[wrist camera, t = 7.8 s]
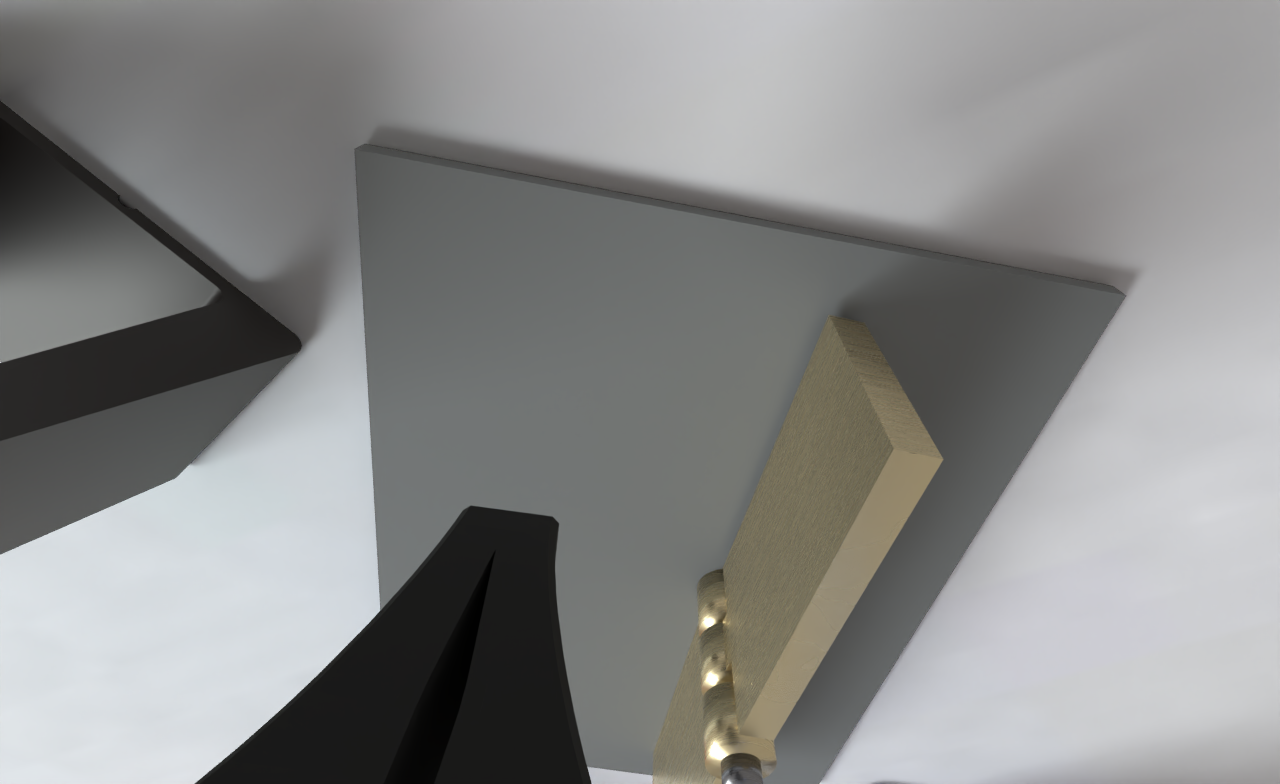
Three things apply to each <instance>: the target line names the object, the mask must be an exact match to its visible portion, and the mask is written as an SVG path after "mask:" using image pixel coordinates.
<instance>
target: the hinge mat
mask: <svg viewBox="0 0 1280 784" xmlns="http://www.w3.org/2000/svg"><path fill="white" fill-rule="evenodd" d="M355 166H356V184H357V202H358V220H359V237H360V255H361V273H362V291H363V309H364V326H365V344H366V362H367V380H368V397H369V415H370V433H371V451H372V468H373V486H374V504H375V522H376V540H377V557H378V575H379V593H380V611H381V610H382V608H383V607H384V606H385V605H386V604H387V603H388V602H389V601H390V599H391V598H392V597H393V596H394V595H395V594H396V593H397V592H398V590H399V589H400V588H401V587H402V586H403V585H404V584H405V583H406V582H407V580H408V579H409V578H410V577H411V576H412V575H413V574H414V572H415V571H416V570H417V569H418V568H419V566H420V565H421V564H422V563H423V562H424V560H425V559H426V558H427V557H428V556H429V554H430V553H431V552H432V551H433V549H434V548H435V547H436V546H437V544H438V543H439V542H440V541H441V539H442V538H443V537H444V535H445V534H446V533H447V531H448V530H449V529H450V527H451V526H452V525H453V523H454V522H455V521H456V519H457V518H458V517H459V515H460V514H461V512H462V511H463V510H464V509H466V508H467V507H469V506H471V505H472V506H479V507H486V508H494V509H501V510H509V511H516V512H524V513H531V514H538V515H546V516H553V517H554V518H555V519H556V521H557V522H558V523H559V531H558V540H557V550H556V560H555V576H556V596H557V607H558V616H559V624H560V631H561V639H562V647H563V654H564V660H565V666H566V672H567V678H568V683H569V688H570V693H571V698H572V703H573V708H574V713H575V718H576V722H577V727H578V731H579V736H580V740H581V744H582V748H583V753H584V757H585V760H586V764H587V767H594V768H602V769H609V770H616V771H624V772H631V773H639V774H646V775H653V752H654V749H655V746H656V744H657V741H658V738H659V735H660V732H661V729H662V726H663V723H664V721H665V718H666V715H667V712H668V709H669V706H670V703H671V700H672V697H673V695H674V692H675V689H676V686H677V683H678V680H679V677H680V674H681V672H682V669H683V666H684V663H685V660H686V657H687V654H688V651H689V649H690V646H691V643H692V640H693V637H694V634H695V631H696V628H697V625H698V602H697V585H698V582H699V580H700V579H701V578H702V577H703V576H704V575H706V574H707V573H709V572H712V571H715V570H719V569H723V566H724V564H725V562H726V559H727V557H728V554H729V552H730V550H731V547H732V545H733V542H734V540H735V538H736V535H737V533H738V530H739V528H740V526H741V523H742V521H743V519H744V516H745V514H746V511H747V509H748V507H749V504H750V502H751V499H752V497H753V495H754V492H755V490H756V487H757V485H758V483H759V480H760V478H761V476H762V473H763V471H764V468H765V466H766V464H767V461H768V459H769V456H770V454H771V452H772V449H773V447H774V445H775V442H776V440H777V437H778V435H779V433H780V430H781V428H782V425H783V423H784V421H785V418H786V416H787V413H788V411H789V409H790V406H791V404H792V402H793V399H794V397H795V394H796V392H797V390H798V387H799V385H800V382H801V380H802V378H803V375H804V373H805V371H806V368H807V366H808V363H809V361H810V359H811V356H812V354H813V351H814V349H815V347H816V344H817V342H818V339H819V337H820V335H821V332H822V330H823V328H824V325H825V323H826V320H827V318H828V316H829V315H832V316H836V317H841V318H845V319H850V320H854V321H858V322H863V323H865V325H866V326H867V328H868V330H869V331H870V333H871V335H872V337H873V338H874V340H875V342H876V344H877V345H878V347H879V349H880V350H881V352H882V354H883V356H884V357H885V359H886V361H887V363H888V364H889V366H890V368H891V369H892V371H893V373H894V375H895V376H896V378H897V380H898V382H899V383H900V385H901V387H902V388H903V390H904V392H905V394H906V395H907V397H908V399H909V401H910V402H911V404H912V406H913V407H914V409H915V411H916V413H917V414H918V416H919V418H920V420H921V421H922V423H923V425H924V426H925V428H926V430H927V432H928V433H929V435H930V437H931V439H932V440H933V442H934V444H935V445H936V447H937V449H938V451H939V452H940V454H941V456H942V458H943V461H942V463H941V464H940V466H939V468H938V469H937V471H936V473H935V474H934V476H933V478H932V479H931V481H930V483H929V484H928V486H927V488H926V489H925V491H924V493H923V494H922V496H921V498H920V499H919V501H918V503H917V504H916V506H915V507H914V509H913V511H912V512H911V514H910V516H909V517H908V519H907V521H906V522H905V524H904V526H903V527H902V529H901V531H900V532H899V534H898V536H897V537H896V539H895V541H894V542H893V544H892V546H891V547H890V549H889V551H888V552H887V554H886V555H885V557H884V559H883V560H882V562H881V564H880V565H879V567H878V569H877V570H876V572H875V574H874V575H873V577H872V579H871V580H870V582H869V584H868V585H867V587H866V589H865V590H864V592H863V594H862V595H861V597H860V599H859V600H858V602H857V603H856V605H855V607H854V608H853V610H852V612H851V613H850V615H849V617H848V618H847V620H846V622H845V623H844V625H843V627H842V628H841V630H840V632H839V633H838V635H837V637H836V638H835V640H834V642H833V643H832V645H831V647H830V648H829V650H828V651H827V653H826V655H825V656H824V658H823V660H822V661H821V663H820V665H819V666H818V668H817V670H816V671H815V673H814V675H813V676H812V678H811V680H810V681H809V683H808V685H807V686H806V688H805V690H804V691H803V693H802V695H801V696H800V698H799V699H798V701H797V703H796V704H795V706H794V708H793V709H792V711H791V713H790V714H789V716H788V718H787V719H786V721H785V723H784V724H783V726H782V728H781V729H780V731H779V733H778V734H777V736H776V738H775V739H774V746H775V753H776V760H777V766H776V768H775V770H774V771H773V772H772V773H771V774H770V775H769V776H767V777H765V778H763V784H819V783H820V781H821V780H822V778H823V777H824V775H825V774H826V772H827V770H828V769H829V767H830V766H831V764H832V762H833V761H834V759H835V758H836V756H837V754H838V753H839V751H840V750H841V748H842V747H843V745H844V743H845V742H846V740H847V739H848V737H849V735H850V734H851V732H852V731H853V729H854V727H855V726H856V724H857V723H858V721H859V720H860V718H861V716H862V715H863V713H864V712H865V710H866V708H867V707H868V705H869V704H870V702H871V700H872V699H873V697H874V696H875V694H876V693H877V691H878V689H879V688H880V686H881V685H882V683H883V681H884V680H885V678H886V677H887V675H888V673H889V672H890V670H891V669H892V667H893V666H894V664H895V662H896V661H897V659H898V658H899V656H900V654H901V653H902V651H903V650H904V648H905V646H906V645H907V643H908V642H909V640H910V638H911V637H912V635H913V634H914V632H915V631H916V629H917V627H918V626H919V624H920V623H921V621H922V619H923V618H924V616H925V615H926V613H927V611H928V610H929V608H930V607H931V605H932V604H933V602H934V600H935V599H936V597H937V596H938V594H939V592H940V591H941V589H942V588H943V586H944V584H945V583H946V581H947V580H948V578H949V577H950V575H951V573H952V572H953V570H954V569H955V567H956V565H957V564H958V562H959V561H960V559H961V557H962V556H963V554H964V553H965V551H966V550H967V548H968V546H969V545H970V543H971V542H972V540H973V538H974V537H975V535H976V534H977V532H978V530H979V529H980V527H981V526H982V524H983V522H984V521H985V519H986V518H987V516H988V515H989V513H990V511H991V510H992V508H993V507H994V505H995V503H996V502H997V500H998V499H999V497H1000V495H1001V494H1002V492H1003V491H1004V489H1005V488H1006V486H1007V484H1008V483H1009V481H1010V480H1011V478H1012V476H1013V475H1014V473H1015V472H1016V470H1017V468H1018V467H1019V465H1020V464H1021V462H1022V461H1023V459H1024V457H1025V456H1026V454H1027V453H1028V451H1029V449H1030V448H1031V446H1032V445H1033V443H1034V441H1035V440H1036V438H1037V437H1038V435H1039V434H1040V432H1041V430H1042V429H1043V427H1044V426H1045V424H1046V422H1047V421H1048V419H1049V418H1050V416H1051V414H1052V413H1053V411H1054V410H1055V408H1056V407H1057V405H1058V403H1059V402H1060V400H1061V399H1062V397H1063V395H1064V394H1065V392H1066V391H1067V389H1068V387H1069V386H1070V384H1071V383H1072V381H1073V379H1074V378H1075V376H1076V375H1077V373H1078V372H1079V370H1080V368H1081V367H1082V365H1083V364H1084V362H1085V360H1086V359H1087V357H1088V356H1089V354H1090V352H1091V351H1092V349H1093V348H1094V346H1095V345H1096V343H1097V341H1098V340H1099V338H1100V337H1101V335H1102V333H1103V332H1104V330H1105V329H1106V327H1107V325H1108V324H1109V322H1110V321H1111V319H1112V318H1113V316H1114V314H1115V313H1116V311H1117V310H1118V308H1119V306H1120V305H1121V303H1122V302H1123V300H1124V298H1125V297H1126V295H1125V294H1123V293H1122V292H1120V291H1119V290H1117V289H1116V288H1115V287H1113V286H1109V285H1104V284H1099V283H1093V282H1088V281H1083V280H1078V279H1072V278H1067V277H1062V276H1057V275H1051V274H1046V273H1041V272H1036V271H1030V270H1025V269H1020V268H1014V267H1009V266H1004V265H999V264H993V263H988V262H983V261H978V260H972V259H967V258H962V257H957V256H951V255H946V254H941V253H936V252H930V251H925V250H920V249H914V248H909V247H904V246H899V245H893V244H888V243H883V242H878V241H872V240H867V239H862V238H857V237H851V236H846V235H841V234H836V233H830V232H825V231H820V230H814V229H809V228H804V227H799V226H793V225H788V224H783V223H778V222H772V221H767V220H762V219H757V218H751V217H746V216H741V215H736V214H730V213H725V212H720V211H715V210H709V209H704V208H699V207H693V206H688V205H683V204H678V203H672V202H667V201H662V200H657V199H651V198H646V197H641V196H636V195H630V194H625V193H620V192H615V191H609V190H604V189H599V188H593V187H588V186H583V185H578V184H572V183H567V182H562V181H557V180H551V179H546V178H541V177H536V176H530V175H525V174H520V173H515V172H509V171H504V170H499V169H494V168H488V167H483V166H478V165H472V164H467V163H462V162H457V161H451V160H446V159H441V158H436V157H430V156H425V155H420V154H415V153H409V152H404V151H399V150H394V149H388V148H383V147H378V146H372V145H367V144H364V145H362V146H360V147H358V148H356V149H355Z"/></svg>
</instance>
